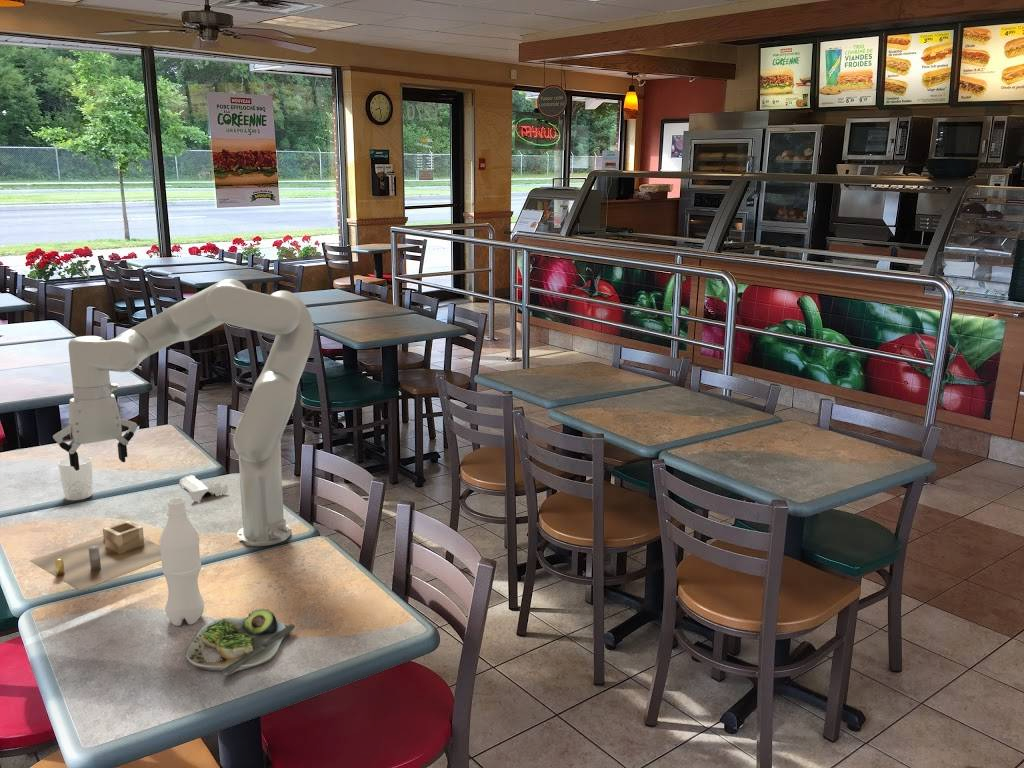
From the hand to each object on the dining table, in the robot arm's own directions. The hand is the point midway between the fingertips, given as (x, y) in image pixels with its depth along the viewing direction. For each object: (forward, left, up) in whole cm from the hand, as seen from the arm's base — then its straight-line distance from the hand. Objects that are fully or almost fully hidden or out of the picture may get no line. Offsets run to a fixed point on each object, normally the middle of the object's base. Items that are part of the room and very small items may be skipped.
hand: (99, 464), depth 190 cm
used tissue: (+14, -35, -21) cm, 43 cm away
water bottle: (-43, +8, -20) cm, 48 cm away
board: (-7, +5, -20) cm, 22 cm away
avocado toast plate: (-59, +7, -21) cm, 63 cm away
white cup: (+36, -11, -21) cm, 43 cm away
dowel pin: (-8, +15, -19) cm, 25 cm away
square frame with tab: (-3, -1, -19) cm, 19 cm away
